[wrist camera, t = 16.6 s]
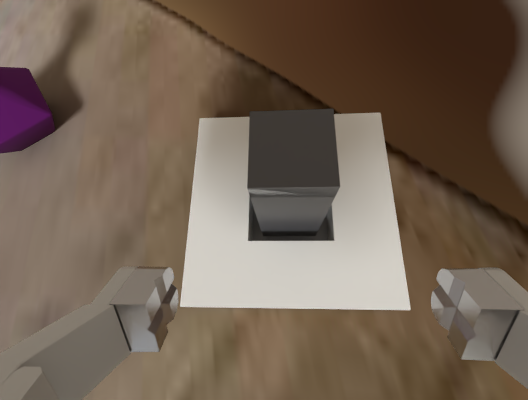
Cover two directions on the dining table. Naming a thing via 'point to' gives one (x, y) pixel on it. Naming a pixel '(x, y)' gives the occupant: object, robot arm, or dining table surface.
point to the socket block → (294, 247)
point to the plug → (292, 169)
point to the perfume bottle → (22, 110)
